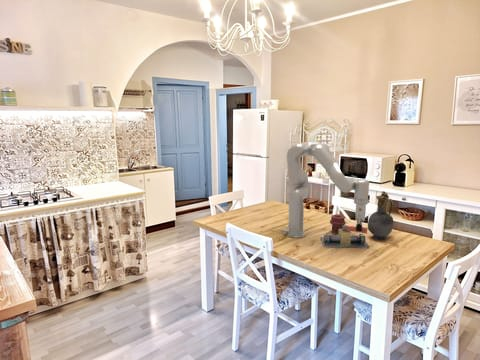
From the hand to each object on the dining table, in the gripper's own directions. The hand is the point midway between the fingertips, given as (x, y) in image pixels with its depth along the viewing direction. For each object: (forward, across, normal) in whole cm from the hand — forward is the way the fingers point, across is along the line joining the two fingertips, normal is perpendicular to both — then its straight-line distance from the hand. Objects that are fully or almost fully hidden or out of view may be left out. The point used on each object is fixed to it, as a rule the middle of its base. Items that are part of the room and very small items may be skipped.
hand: (358, 230), depth 189 cm
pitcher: (+10, +21, -13) cm, 27 cm away
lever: (+2, +3, +2) cm, 4 cm away
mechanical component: (+10, +20, +14) cm, 26 cm away
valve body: (+10, +2, +8) cm, 13 cm away
